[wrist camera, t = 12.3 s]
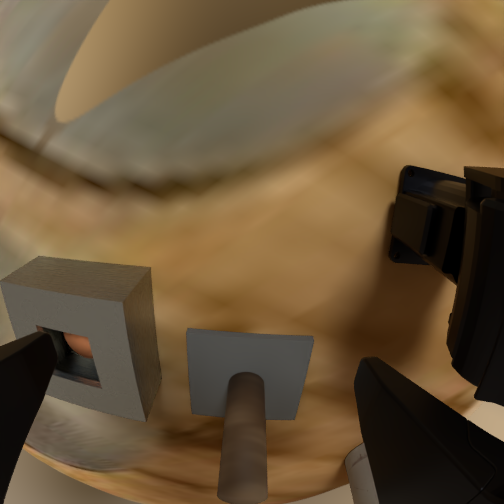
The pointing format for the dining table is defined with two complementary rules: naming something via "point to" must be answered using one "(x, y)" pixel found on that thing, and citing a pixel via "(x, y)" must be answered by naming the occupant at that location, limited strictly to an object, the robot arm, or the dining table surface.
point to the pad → (247, 369)
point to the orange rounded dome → (79, 344)
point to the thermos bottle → (360, 477)
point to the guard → (92, 330)
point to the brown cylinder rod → (244, 442)
